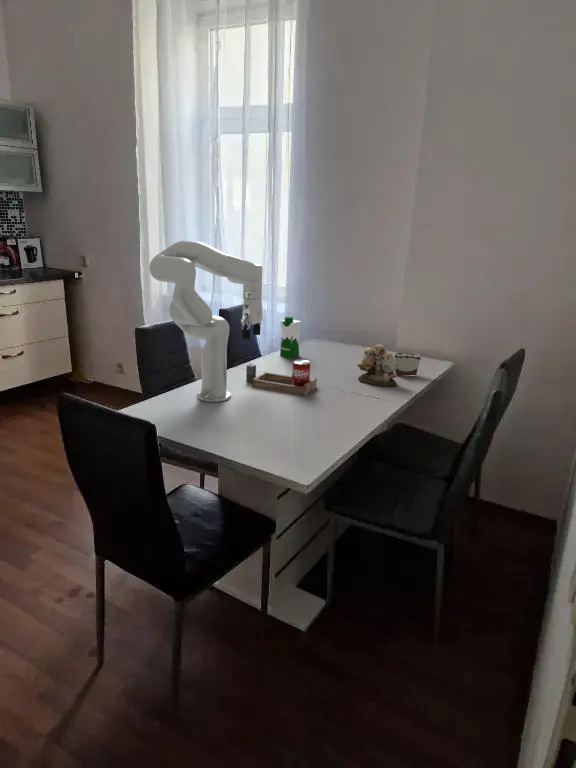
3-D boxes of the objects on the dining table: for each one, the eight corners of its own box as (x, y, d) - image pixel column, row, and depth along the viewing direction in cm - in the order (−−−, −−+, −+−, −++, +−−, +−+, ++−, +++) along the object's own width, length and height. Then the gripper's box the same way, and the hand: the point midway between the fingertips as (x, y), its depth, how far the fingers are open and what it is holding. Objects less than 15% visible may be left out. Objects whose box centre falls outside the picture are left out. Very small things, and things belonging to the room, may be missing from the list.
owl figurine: (352, 383, 228) (355, 344, 223) (360, 376, 239) (363, 339, 234) (393, 389, 221) (397, 350, 216) (399, 382, 232) (403, 344, 227)
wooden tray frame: (305, 395, 209) (306, 378, 207) (241, 384, 219) (241, 368, 217) (316, 387, 220) (317, 370, 218) (254, 376, 230) (254, 361, 228)
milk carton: (277, 356, 266) (278, 317, 259) (287, 352, 273) (288, 314, 267) (292, 359, 261) (294, 319, 255) (301, 355, 269) (303, 316, 262)
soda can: (306, 393, 212) (308, 365, 208) (289, 391, 214) (290, 363, 210) (311, 388, 219) (312, 360, 215) (294, 386, 221) (295, 358, 217)
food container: (417, 373, 246) (420, 352, 243) (419, 377, 240) (421, 355, 237) (390, 371, 247) (392, 350, 244) (392, 375, 241) (394, 354, 238)
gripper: (251, 298, 204) (250, 341, 209) (269, 293, 219) (268, 334, 224) (234, 296, 206) (233, 339, 211) (253, 292, 222) (252, 332, 227)
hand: (251, 336), depth 218 cm, fingers open, 9 cm apart
